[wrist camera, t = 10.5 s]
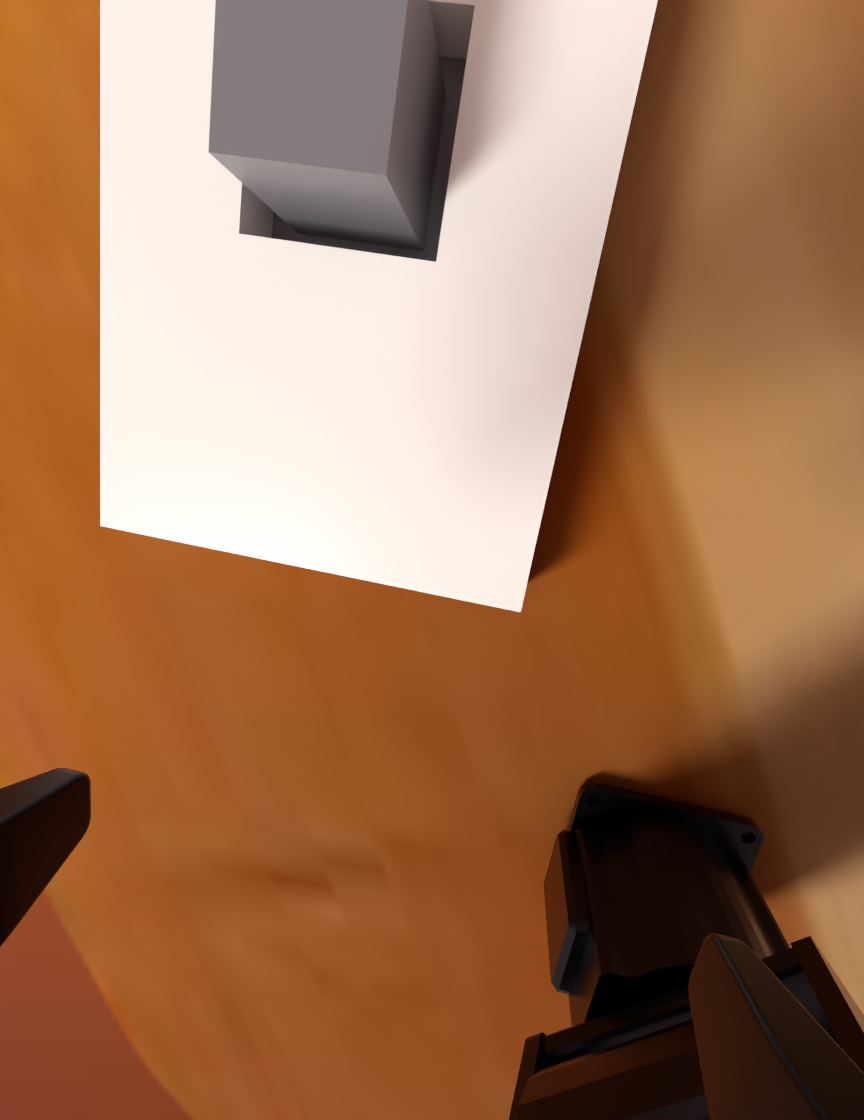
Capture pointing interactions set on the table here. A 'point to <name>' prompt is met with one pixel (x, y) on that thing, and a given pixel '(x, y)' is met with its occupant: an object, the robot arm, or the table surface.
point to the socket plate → (357, 307)
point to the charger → (331, 113)
